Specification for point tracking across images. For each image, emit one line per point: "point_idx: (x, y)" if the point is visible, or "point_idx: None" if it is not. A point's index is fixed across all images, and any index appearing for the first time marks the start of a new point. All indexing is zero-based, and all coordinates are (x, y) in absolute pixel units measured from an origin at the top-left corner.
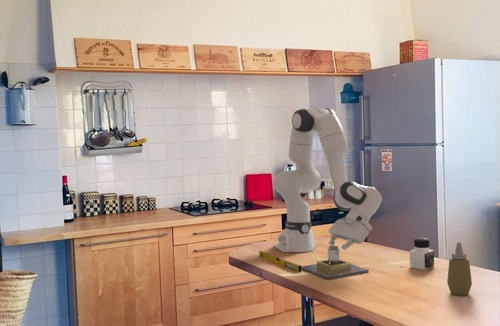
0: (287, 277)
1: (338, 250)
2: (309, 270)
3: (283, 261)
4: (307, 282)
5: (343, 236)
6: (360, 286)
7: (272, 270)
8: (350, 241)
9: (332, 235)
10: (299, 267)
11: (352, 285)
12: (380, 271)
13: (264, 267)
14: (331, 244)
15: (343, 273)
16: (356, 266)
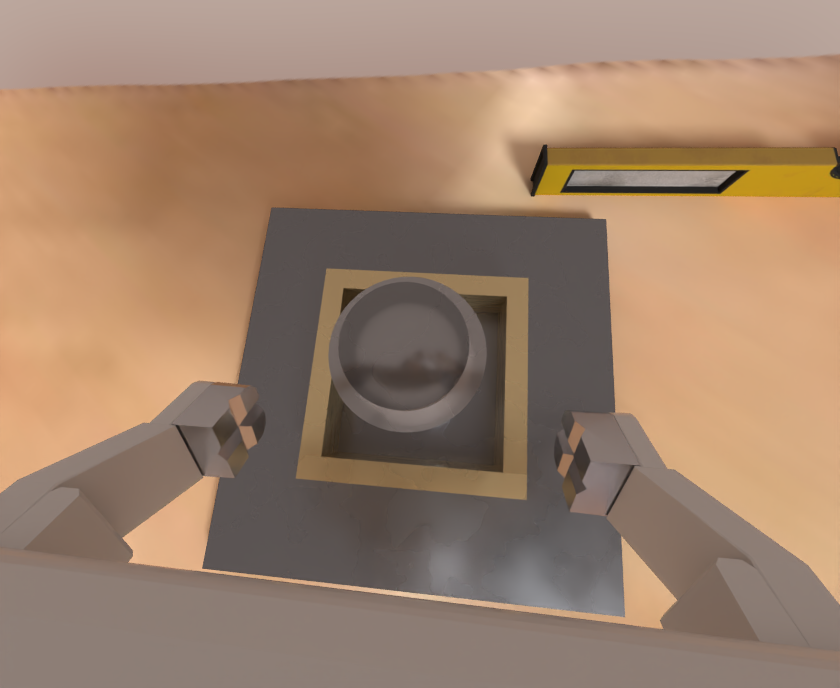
0: (470, 78)
1: (332, 375)
2: (485, 216)
3: (763, 152)
4: (317, 110)
5: (254, 584)
6: (55, 278)
7: (665, 83)
8: (21, 504)
9: (782, 585)
10: (542, 162)
11: (101, 257)
12: None
13: (766, 78)
14: (565, 431)
15: (265, 339)
16: (343, 566)
